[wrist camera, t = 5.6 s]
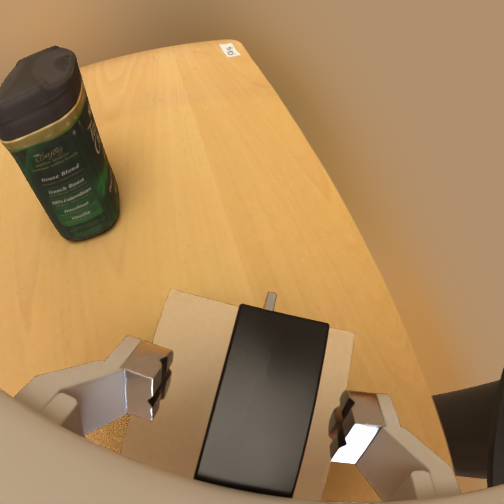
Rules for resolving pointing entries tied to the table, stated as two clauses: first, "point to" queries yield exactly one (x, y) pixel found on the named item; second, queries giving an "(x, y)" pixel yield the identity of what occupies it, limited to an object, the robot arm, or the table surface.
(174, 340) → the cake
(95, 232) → the coffee jar
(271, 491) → the knife
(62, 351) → the table surface
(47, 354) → the table surface
